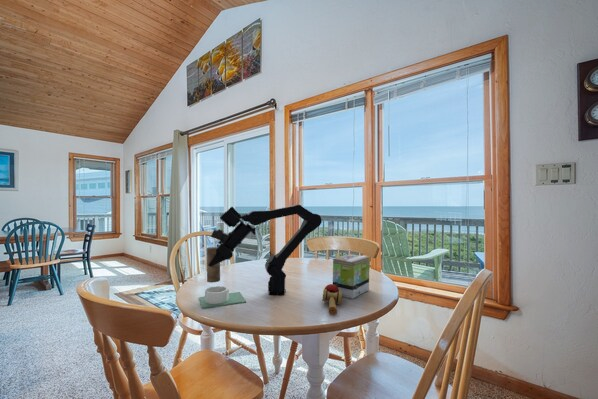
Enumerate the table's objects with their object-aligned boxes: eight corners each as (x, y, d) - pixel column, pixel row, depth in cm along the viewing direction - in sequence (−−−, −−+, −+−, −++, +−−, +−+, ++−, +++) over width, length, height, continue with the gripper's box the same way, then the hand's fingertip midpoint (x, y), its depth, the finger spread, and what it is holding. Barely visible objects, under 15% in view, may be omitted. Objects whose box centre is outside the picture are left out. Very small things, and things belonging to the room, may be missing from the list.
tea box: (354, 299, 110) (354, 261, 110) (331, 294, 116) (331, 258, 116) (369, 290, 122) (369, 255, 122) (348, 285, 128) (348, 253, 128)
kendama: (346, 319, 95) (342, 294, 113) (343, 301, 94) (339, 279, 112) (323, 322, 96) (323, 297, 114) (320, 304, 95) (320, 282, 113)
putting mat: (239, 292, 118) (239, 282, 118) (246, 302, 107) (246, 290, 107) (199, 298, 112) (199, 287, 112) (201, 308, 101) (201, 296, 101)
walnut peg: (219, 278, 115) (219, 246, 115) (220, 281, 111) (220, 248, 111) (206, 279, 114) (206, 247, 114) (207, 283, 109) (207, 249, 109)
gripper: (223, 220, 122) (196, 247, 120) (222, 223, 104) (191, 255, 101) (242, 237, 124) (216, 264, 121) (244, 243, 106) (214, 275, 103)
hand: (209, 264), depth 112 cm, fingers closed on walnut peg, 5 cm apart
